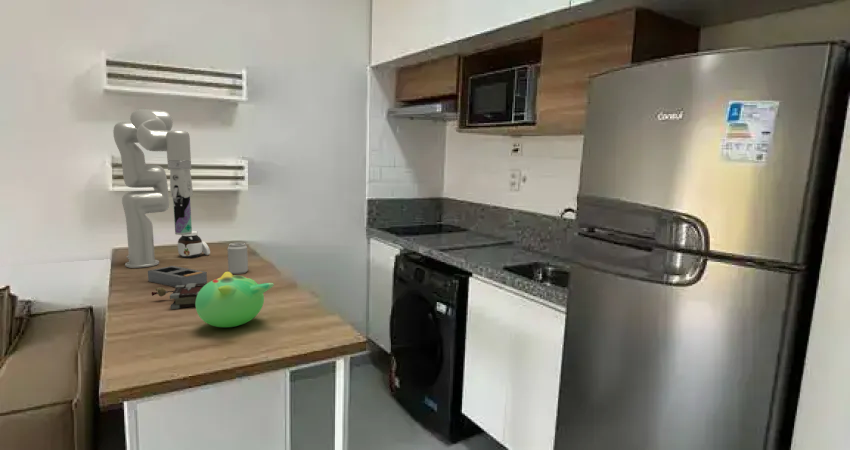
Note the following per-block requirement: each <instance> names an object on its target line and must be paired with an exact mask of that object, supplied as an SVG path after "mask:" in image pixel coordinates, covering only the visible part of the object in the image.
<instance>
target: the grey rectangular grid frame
mask: <svg viewBox="0 0 850 450" xmlns="http://www.w3.org/2000/svg"><path fill="white" fill-rule="evenodd" d="M147 280H148V282H149V283H150V282H151V283H155V284H160V285H164V286H170V287H174V288H175V287H176V285H186V284H188V283H196V284H201V283H208V276H207V271H203V270H198V269H197V270H196V269H191V268H188V267H187V268H185V267H181V266H176V265H169V266H166V267H159V268H154V269H149V270H147Z"/></svg>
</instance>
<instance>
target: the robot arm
mask: <svg viewBox="0 0 850 450" xmlns="http://www.w3.org/2000/svg"><path fill="white" fill-rule="evenodd" d="M129 116H130V118H129V119H130V121H121V122H117V123H115V124H114V126H113V130H112V132H113V138H114V142H115V145H116V147H117V149H118V152H119V154H120V161H121V166H122V167H121V168H122V176H123V181H124V185H126V187H128V188H135V189H138V188H140V189H141V188H143V189H144V188H145V189H146V188H152V189H153V190H133V191H128V192H126V193H125V194H123V195H122V197H121V203H122V208H123V211H124V217H125V223H126V224H125V226H126V236H127V248H128V249H127V251H128V253H127V254H128V255H126V259H128V261H127V262H125V264H124V266H125V267H126V268H131V269H138V268H139V269H140V268H149V267H154V266H157V265H160V260H158V259H155V256H156V255H155V243H154V242H155V241H154V240H155V239H154V228H153V227H154V226H153V223H152V220H151V219H150V218H149V217H148V216H147V215H146V214H156V213H164V212H166V211H168V210H169V208H170V197H171V198H172V203H173V202H174V205H173V215H174V216H173V218H174V217H175V218H183V217H185V215H184V206H183V197H184V198H188V197H189V196H190V198H191V197H193V195H194V194H193V193H194V191H193V189H194V188H193V180H192V174H191V171H192V160H191V159H192V157H191V138H190V133H189V132H188V131H186V130H172V128H173V124H174V123H173V122H174V121H173V119H172V115H171V114H170V113H169V112H168V111H166V110H163V109H161V110H159V109H151V108H150V109H148V108H147V109H146V108H139V109H136V110H134V111H133V112H131V114H130V115H129ZM137 144H139V145H140V146H141V147H142V149H145V150H147V151H149V152H166V159H167V171H170V172H169V173H170V174H169V185H168V180H167V179H168V177H167V173H166V170H165V168H163V167H162V166H161V165H159V164H146V158H145V154H144V152H143V150H142V149H141V148H140V147H139V146H138V145H137ZM169 186H170V187H169ZM188 187H189V188H190V190H189V189H188ZM169 190H170V195H169ZM178 196H181V197H178Z"/></svg>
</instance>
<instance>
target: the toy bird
mask: <svg viewBox="0 0 850 450" xmlns="http://www.w3.org/2000/svg"><path fill="white" fill-rule="evenodd" d="M274 285H275V284H274V283H273V282H264V283H257V282H256V280H254V279H252V278H250V277H248V276H245V275H244V276H243V275H237V274H231V273H230V272H229V271H225V272H223V274H222V275H221V276H220V277H217V278H215V279H212V280H210V281H208V282H207V284H206V285H205V286H204V287H203V288H202V289H201V290H200V291H199V293H198V295H197V297H196V302H195V306H196V307H195V310H196V313H197V316H198V317H199V318H200V319H201V320H202V321H203V322H204V323H205V324H207V325H210V326H212V327H215V328H216V327H217V328H233V327H238V326H242V325H244V324H247V323H248V322H250V321H251V320H253V319H254V318H255V317H257V316H258V314H260V312H261V310H262V308H263V305H264V301H265V297H264V296H265V295H264V293H265V292H267V291H268V290H270V289H272V288H273V287H274Z"/></svg>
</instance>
